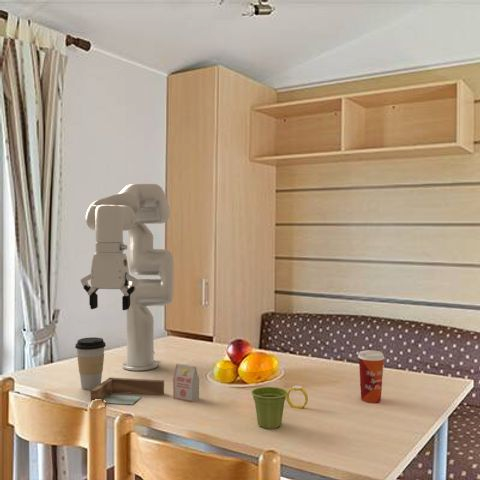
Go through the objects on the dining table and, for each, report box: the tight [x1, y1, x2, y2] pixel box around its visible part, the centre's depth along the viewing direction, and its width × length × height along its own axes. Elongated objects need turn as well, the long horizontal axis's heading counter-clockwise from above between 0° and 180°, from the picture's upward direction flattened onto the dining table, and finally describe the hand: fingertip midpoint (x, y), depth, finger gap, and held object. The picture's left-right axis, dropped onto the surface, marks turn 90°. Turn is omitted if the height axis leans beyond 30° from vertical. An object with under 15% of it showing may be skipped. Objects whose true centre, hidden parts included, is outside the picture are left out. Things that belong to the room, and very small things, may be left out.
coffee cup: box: [74, 336, 106, 391], centre depth 179 cm, size 9×9×15 cm
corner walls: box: [90, 377, 165, 406], centre depth 167 cm, size 14×18×4 cm
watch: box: [285, 384, 309, 410], centre depth 159 cm, size 6×3×6 cm, turn 66°
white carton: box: [172, 363, 200, 403], centre depth 167 cm, size 4×7×10 cm, turn 59°
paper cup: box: [357, 349, 385, 404], centre depth 165 cm, size 8×8×14 cm
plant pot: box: [251, 386, 288, 430], centre depth 146 cm, size 9×9×9 cm
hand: (109, 309), depth 160 cm, fingers open, 9 cm apart
